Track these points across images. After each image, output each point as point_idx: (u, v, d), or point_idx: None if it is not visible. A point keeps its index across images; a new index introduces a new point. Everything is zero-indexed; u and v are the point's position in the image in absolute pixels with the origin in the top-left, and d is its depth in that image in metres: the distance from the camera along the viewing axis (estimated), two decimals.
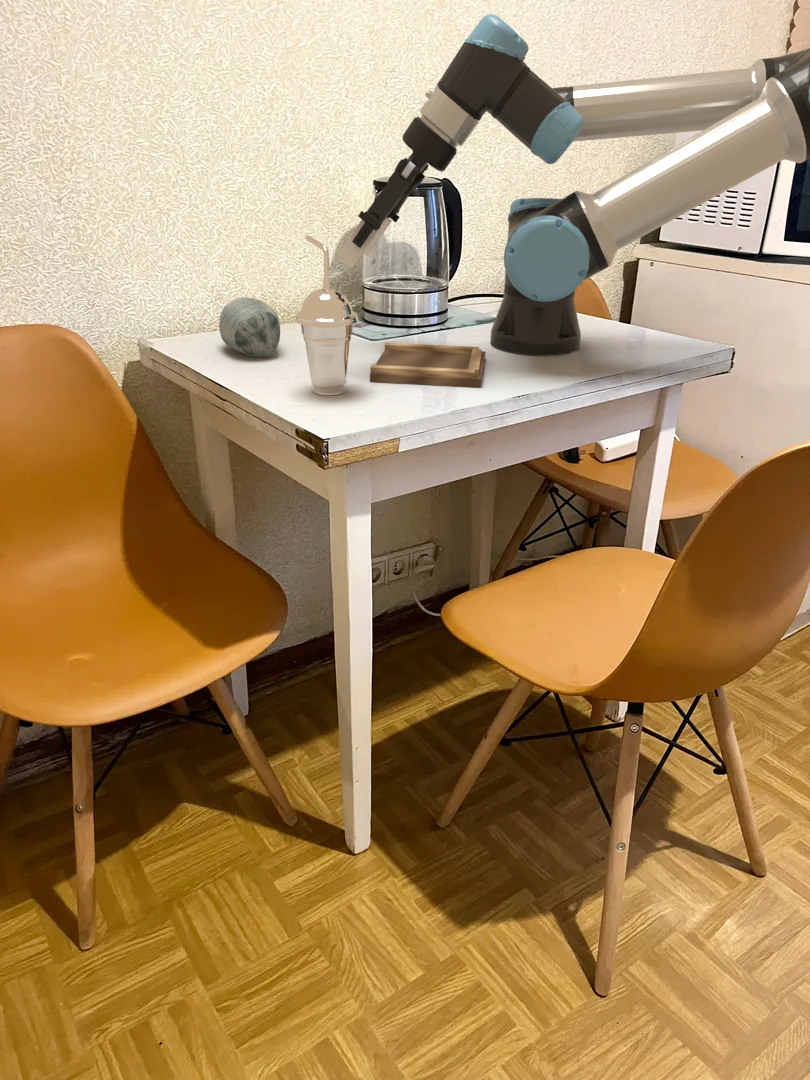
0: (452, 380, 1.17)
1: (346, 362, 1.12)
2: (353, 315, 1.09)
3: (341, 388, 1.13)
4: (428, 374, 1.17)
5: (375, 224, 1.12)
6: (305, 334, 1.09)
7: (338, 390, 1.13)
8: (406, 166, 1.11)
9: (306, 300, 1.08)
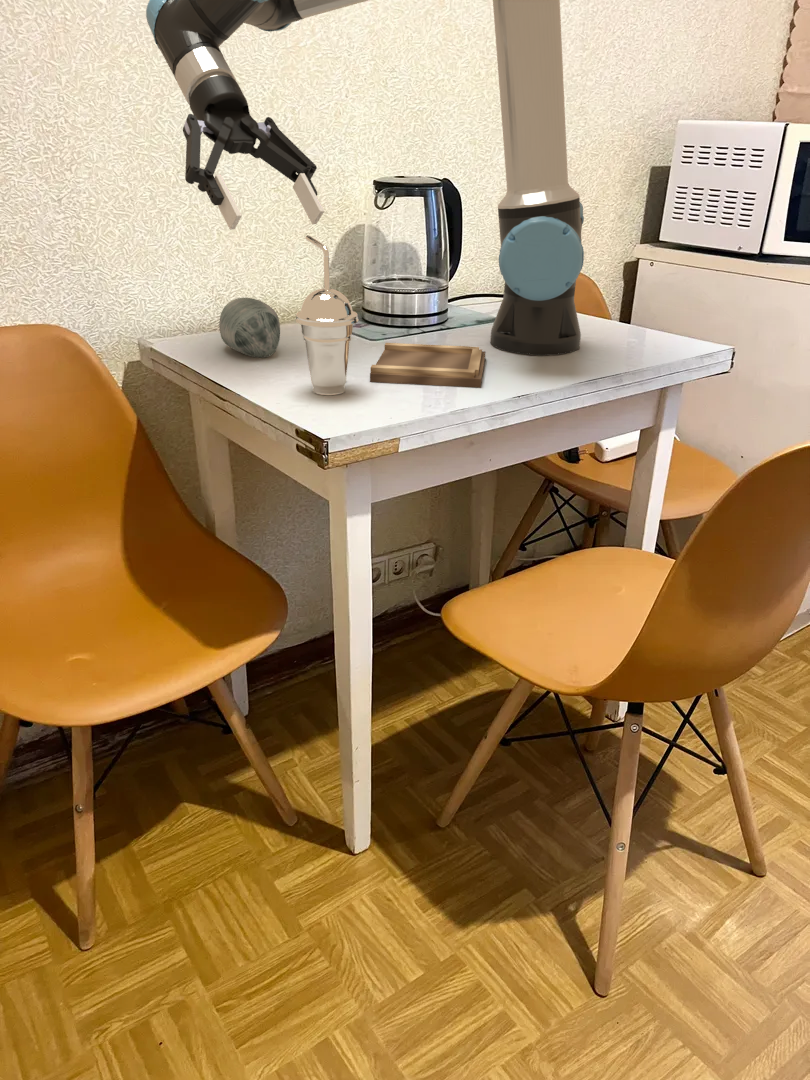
0: (452, 380, 1.17)
1: (346, 362, 1.12)
2: (353, 315, 1.09)
3: (341, 388, 1.13)
4: (428, 374, 1.17)
5: (191, 170, 1.06)
6: (305, 334, 1.09)
7: (338, 390, 1.13)
8: (185, 127, 1.10)
9: (306, 300, 1.08)
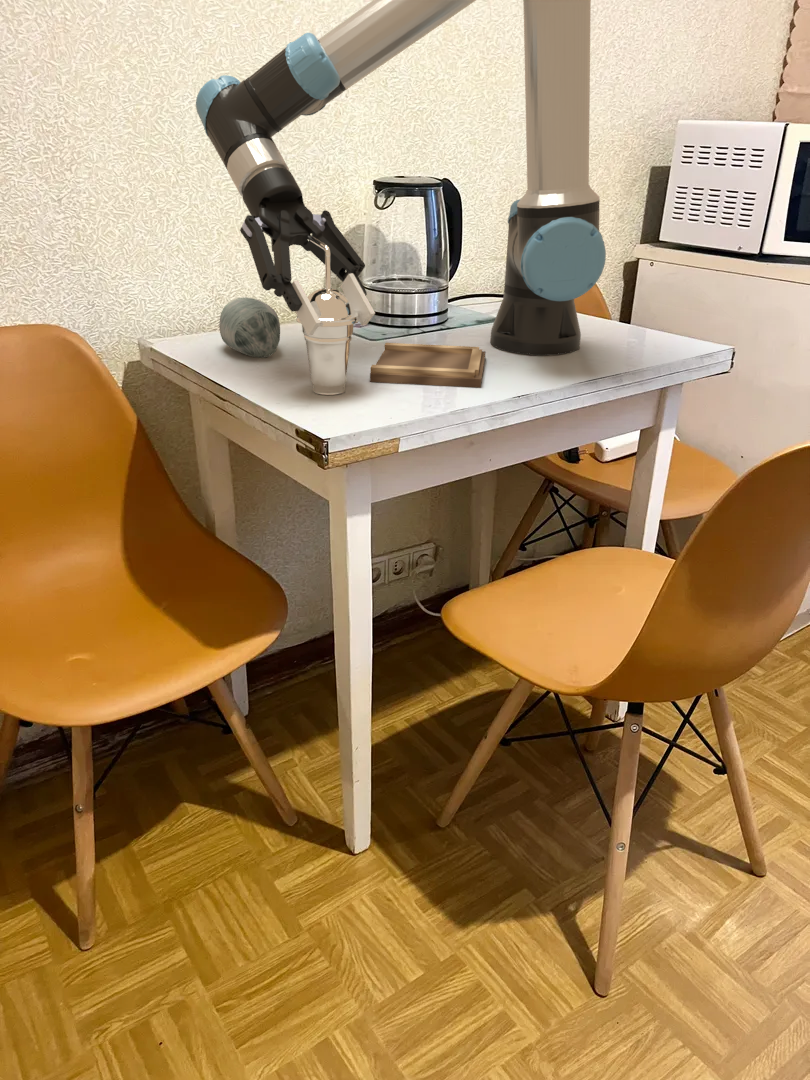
0: (452, 380, 1.17)
1: (346, 362, 1.12)
2: (354, 315, 1.09)
3: (341, 388, 1.13)
4: (428, 374, 1.17)
5: (269, 278, 1.04)
6: (306, 333, 1.09)
7: (338, 390, 1.13)
8: (244, 229, 1.06)
9: None
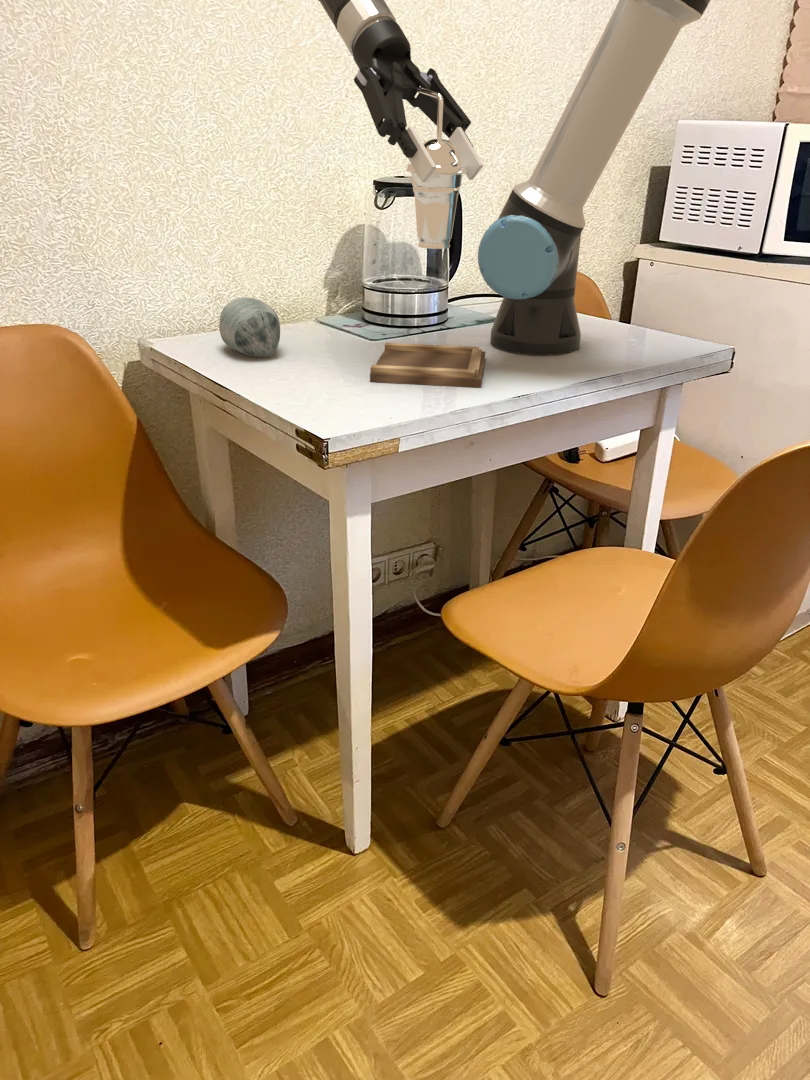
0: (452, 380, 1.17)
1: (454, 215, 1.14)
2: (463, 166, 1.11)
3: (447, 242, 1.15)
4: (428, 374, 1.17)
5: (386, 122, 1.06)
6: (416, 184, 1.11)
7: (445, 244, 1.15)
8: (358, 78, 1.08)
9: None
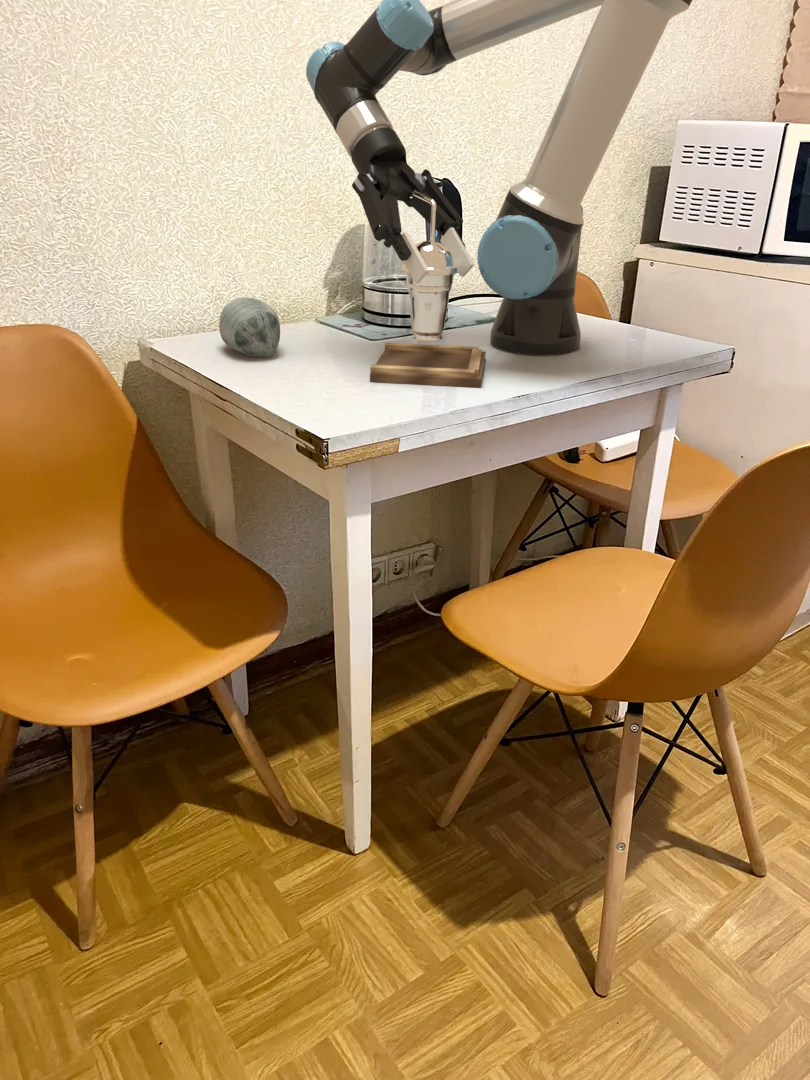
0: (452, 380, 1.17)
1: (446, 310, 1.20)
2: (455, 265, 1.17)
3: (439, 335, 1.21)
4: (428, 374, 1.17)
5: (382, 229, 1.12)
6: (411, 282, 1.17)
7: (437, 337, 1.21)
8: (356, 184, 1.15)
9: None
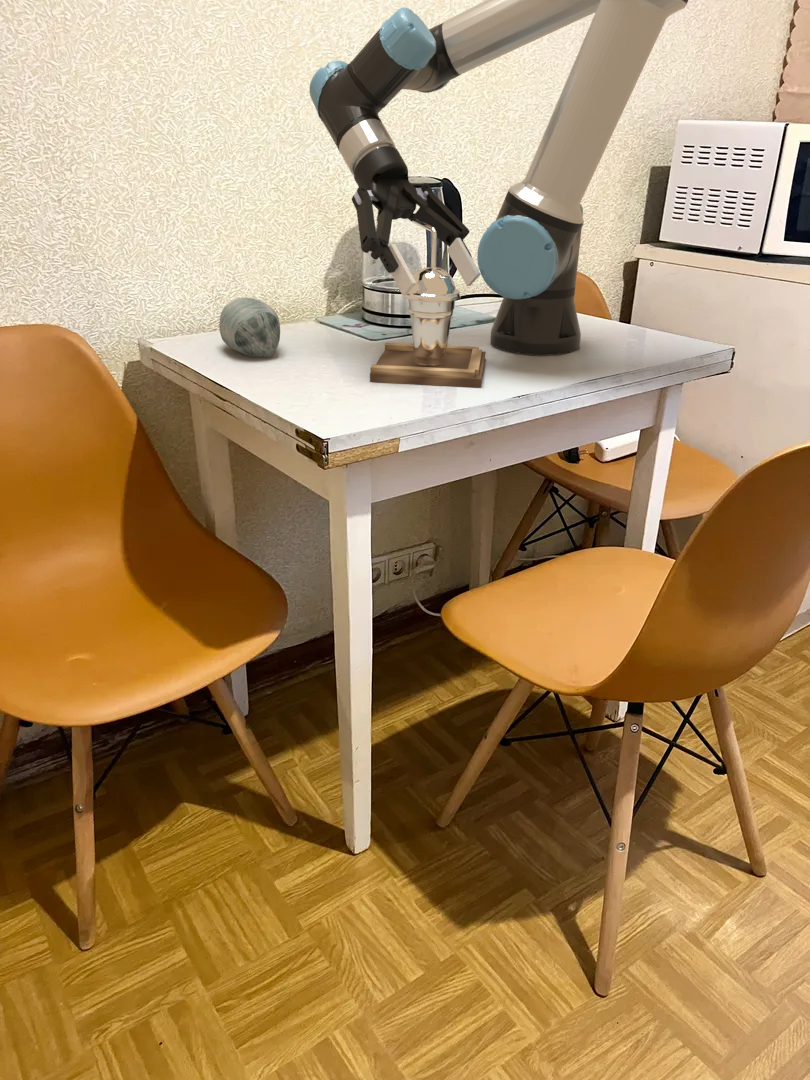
0: (452, 380, 1.17)
1: (448, 335, 1.21)
2: (456, 291, 1.19)
3: (442, 359, 1.23)
4: (428, 374, 1.17)
5: (369, 241, 1.12)
6: (412, 309, 1.18)
7: (439, 361, 1.22)
8: (355, 198, 1.15)
9: (414, 277, 1.17)
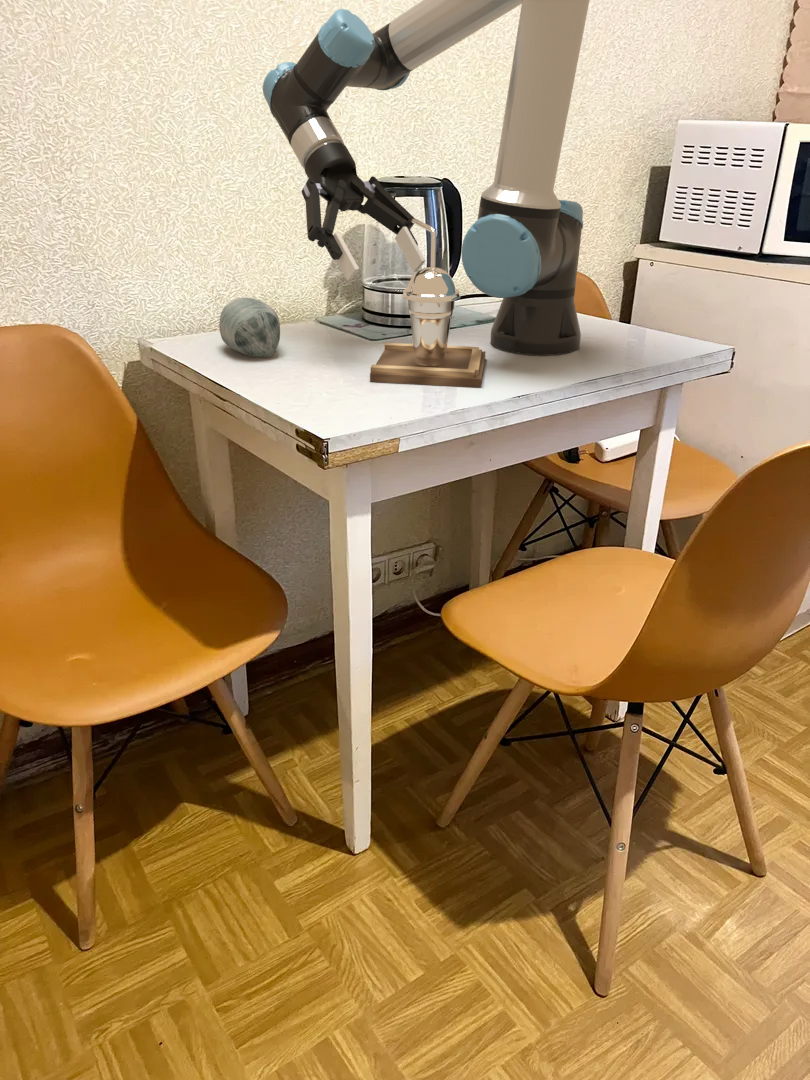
0: (452, 380, 1.17)
1: (447, 335, 1.21)
2: (456, 291, 1.19)
3: (442, 359, 1.23)
4: (428, 374, 1.17)
5: (314, 230, 1.19)
6: (412, 309, 1.18)
7: (439, 361, 1.22)
8: (304, 190, 1.23)
9: (414, 278, 1.17)
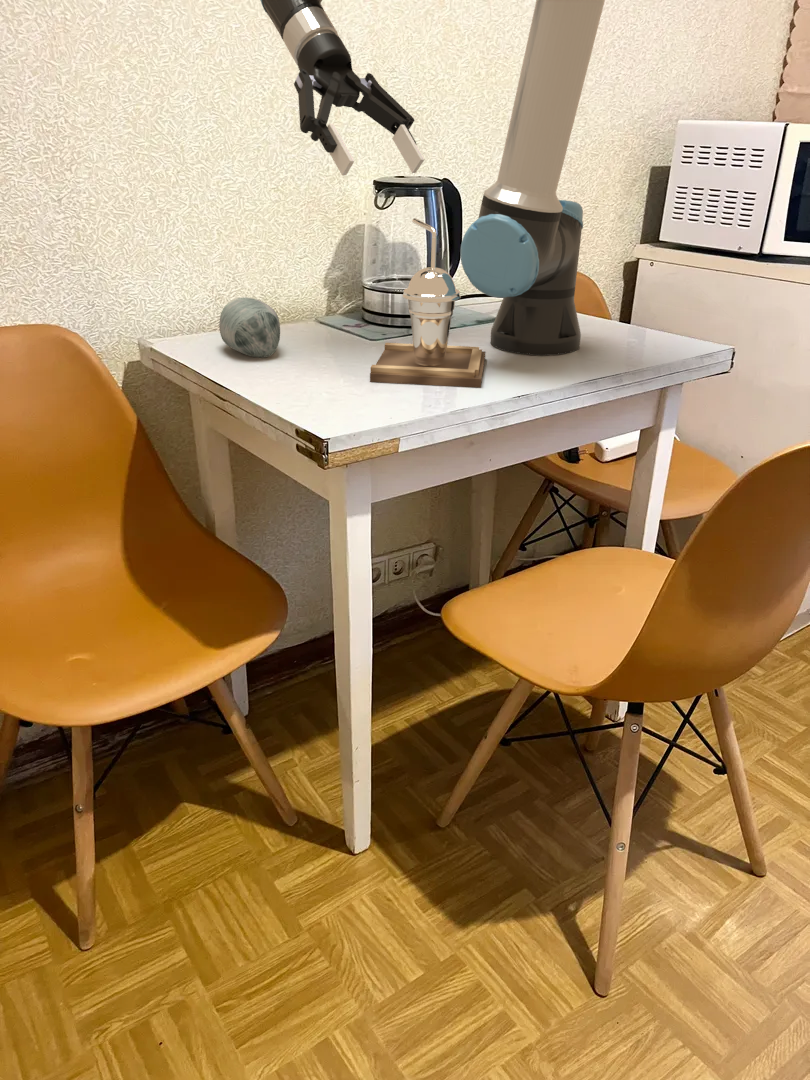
0: (452, 380, 1.17)
1: (448, 335, 1.21)
2: (456, 292, 1.19)
3: (442, 359, 1.23)
4: (428, 374, 1.17)
5: (307, 120, 1.13)
6: (412, 309, 1.18)
7: (439, 361, 1.22)
8: (296, 82, 1.17)
9: (414, 278, 1.17)
